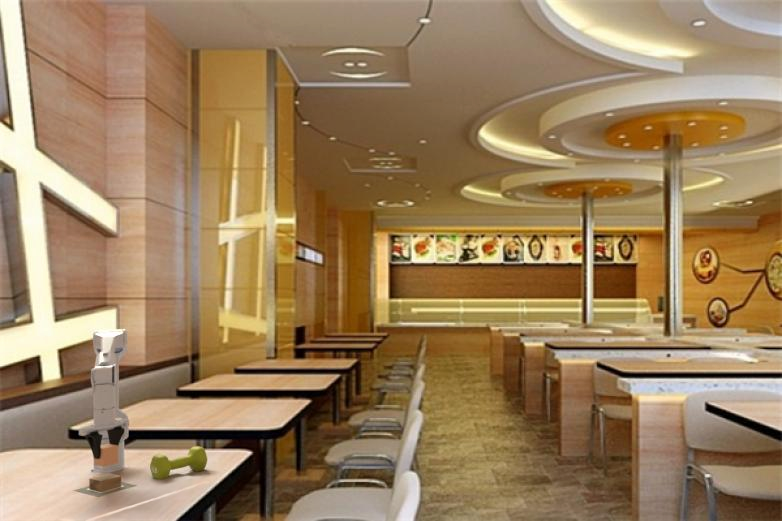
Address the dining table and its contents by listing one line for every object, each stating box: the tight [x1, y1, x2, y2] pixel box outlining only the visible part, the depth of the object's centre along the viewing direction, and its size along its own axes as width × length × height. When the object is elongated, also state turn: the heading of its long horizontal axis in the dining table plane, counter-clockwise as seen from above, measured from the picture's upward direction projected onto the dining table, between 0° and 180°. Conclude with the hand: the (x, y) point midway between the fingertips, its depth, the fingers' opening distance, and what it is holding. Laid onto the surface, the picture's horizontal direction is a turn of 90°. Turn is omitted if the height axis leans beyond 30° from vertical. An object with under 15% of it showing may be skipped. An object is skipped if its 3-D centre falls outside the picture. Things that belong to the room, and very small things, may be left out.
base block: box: [88, 472, 122, 492], centre depth 193 cm, size 6×6×3 cm
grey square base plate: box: [73, 481, 138, 498], centre depth 192 cm, size 12×12×1 cm
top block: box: [93, 444, 118, 467], centre depth 193 cm, size 4×4×5 cm
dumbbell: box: [149, 445, 208, 480], centre depth 207 cm, size 16×8×7 cm, turn 137°
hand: (105, 456), depth 193 cm, fingers closed on top block, 4 cm apart
